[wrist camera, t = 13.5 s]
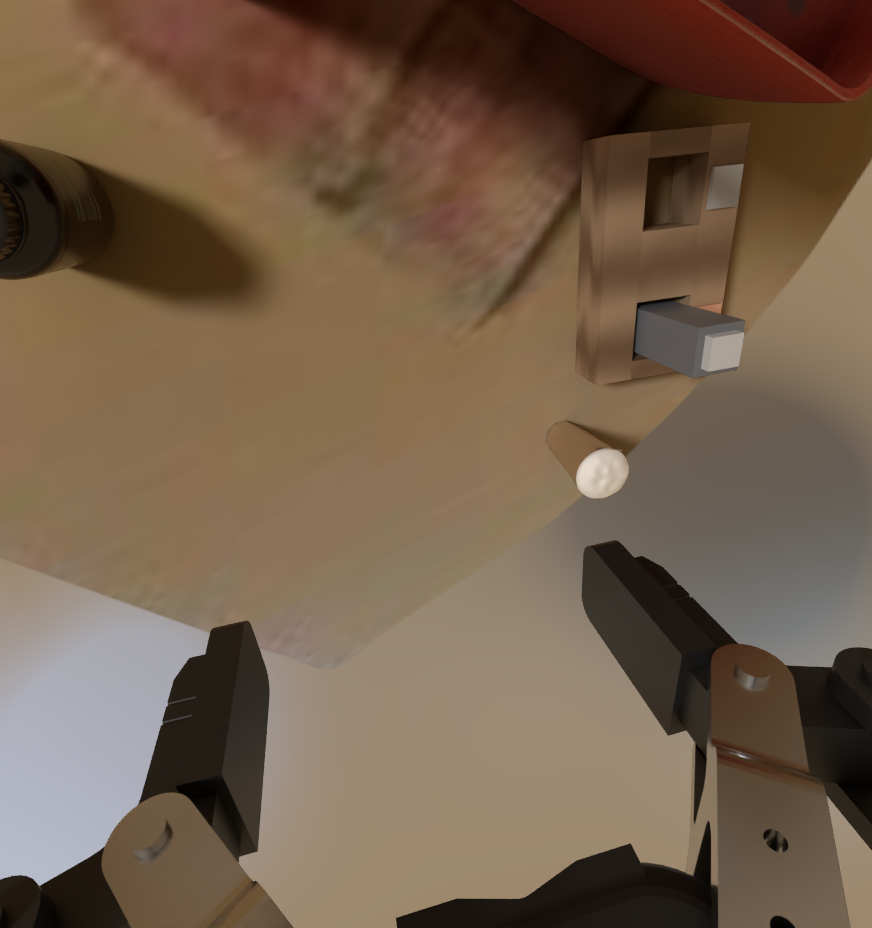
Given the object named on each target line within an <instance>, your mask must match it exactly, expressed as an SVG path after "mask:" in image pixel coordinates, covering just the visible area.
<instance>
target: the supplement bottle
mask: <svg viewBox="0 0 872 928" xmlns="http://www.w3.org/2000/svg"><path fill="white" fill-rule="evenodd" d="M112 230H113V216H112V210H111V207H110V204H109V201H108V198H107V196H106V194H105V192H104V191H103V189H102V187H101V186H100V185H99V183H98V182H97V181H96V179H95V178H94V177H93V176H92V175H91V174H90V173H89V172H88V171H87V170H86V169H85V168H84V167H82V166H81V165H80V164H78V163H77V162H75V161H74V160H72V159H70V158H68V157H66V156H64V155H62V154H60V153H57V152H54V151H51V150H47V149H43V148H39V147H34V146H30V145H25V144H21V143H16V142H11V141H7V140H2V139H0V279H5V280H17V279H26V278H32V277H36V276H39V275H43V274H47V273H51V272H55V271H58V270H62V269H66V268H70V267H74V266H77V265H81V264H84V263H86V262H89V261H91V260H93V259H94V258H96V257H97V256H99V255H100V254H101V253H102V252H103V251H104V249H105V248H106V247H107V245H108V243H109V241H110V238H111V235H112Z"/></svg>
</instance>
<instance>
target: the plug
mask: <svg viewBox="0 0 872 928" xmlns="http://www.w3.org/2000/svg"><path fill="white" fill-rule="evenodd" d="M744 325H745V320H742V319H739V318H735V317H731V316H727V315H723V314H720V313H716V312H712V311H708V310H704V309H701V308H697V307H693V306H689V305H685V304H682V303H678V302H674V301H670V300H666V299H659V300H652V301H646V302H639V303H637V307H636V319H635V331H634V343H633V352H635V353H638V354H640V355H642V356H644V357H647V358H649V359H651V360H653V361H655V362H658V363H660V364H662V365H664V366H667V367H669V368H671V369H673V370H675V371H678V372H680V373H682V374H684V375H687V376H689V377H691V378H696V377H701V376H707V375H712V374H718V373H723V372H729V371H734V370H737V367H738V366H739V362H740V356H741V350H742V345H743V338H744V332H743V331H744Z"/></svg>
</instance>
